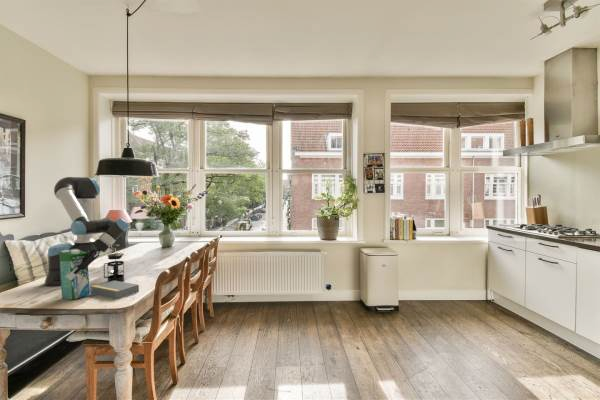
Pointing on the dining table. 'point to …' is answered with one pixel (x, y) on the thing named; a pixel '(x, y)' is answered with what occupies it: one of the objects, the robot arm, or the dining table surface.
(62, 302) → the dining table surface
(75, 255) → the milk carton
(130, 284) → the plate
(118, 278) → the french press
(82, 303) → the dining table surface
